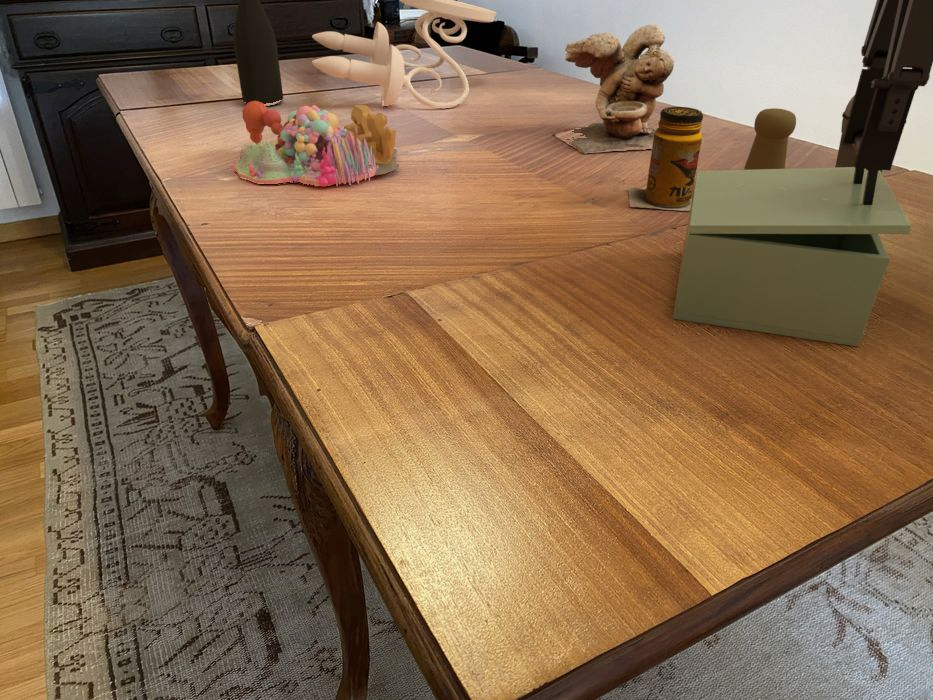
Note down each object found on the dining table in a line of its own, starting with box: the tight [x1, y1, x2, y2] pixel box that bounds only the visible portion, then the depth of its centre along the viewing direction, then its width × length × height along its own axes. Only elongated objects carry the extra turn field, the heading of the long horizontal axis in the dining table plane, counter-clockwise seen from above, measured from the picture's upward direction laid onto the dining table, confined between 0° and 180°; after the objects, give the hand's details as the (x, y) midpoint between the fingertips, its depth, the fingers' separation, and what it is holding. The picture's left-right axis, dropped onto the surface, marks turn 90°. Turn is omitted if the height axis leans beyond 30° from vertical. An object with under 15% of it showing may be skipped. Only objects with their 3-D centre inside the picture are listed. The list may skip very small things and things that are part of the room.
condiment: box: [627, 106, 704, 212], centre depth 93 cm, size 7×8×12 cm
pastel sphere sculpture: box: [233, 101, 400, 188], centre depth 105 cm, size 25×24×9 cm
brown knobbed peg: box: [743, 107, 797, 170], centre depth 97 cm, size 6×6×11 cm
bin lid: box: [689, 129, 913, 235], centre depth 66 cm, size 17×16×6 cm
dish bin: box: [672, 185, 890, 348], centre depth 70 cm, size 16×16×9 cm
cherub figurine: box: [564, 24, 675, 154], centre depth 117 cm, size 18×18×18 cm
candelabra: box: [311, 0, 498, 107], centre depth 150 cm, size 20×45×37 cm
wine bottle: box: [233, 0, 284, 104], centre depth 134 cm, size 8×8×30 cm
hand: (864, 154), depth 63 cm, fingers closed on bin lid, 7 cm apart
